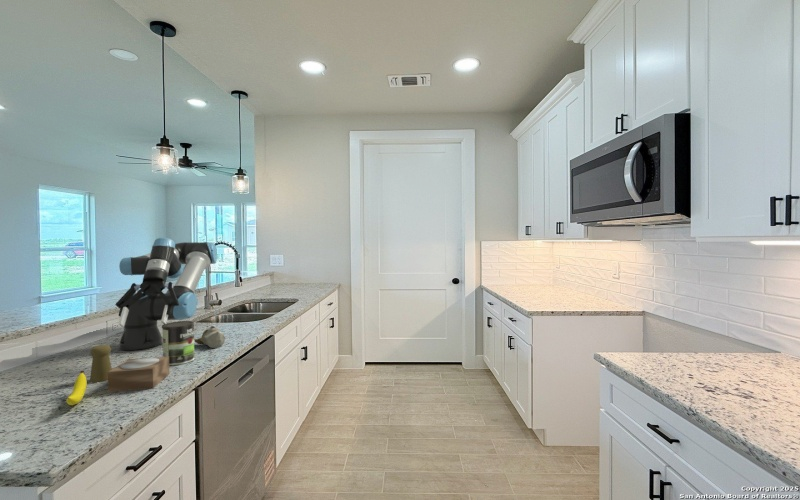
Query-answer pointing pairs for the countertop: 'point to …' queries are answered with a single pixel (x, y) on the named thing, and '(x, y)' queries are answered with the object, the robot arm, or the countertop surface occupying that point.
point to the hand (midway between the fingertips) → (142, 324)
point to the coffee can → (178, 342)
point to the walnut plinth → (138, 374)
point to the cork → (100, 363)
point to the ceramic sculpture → (211, 338)
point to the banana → (78, 390)
